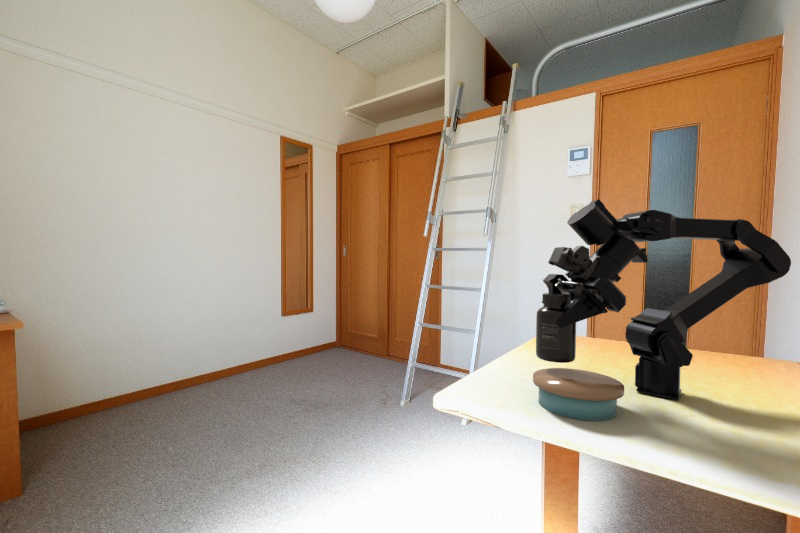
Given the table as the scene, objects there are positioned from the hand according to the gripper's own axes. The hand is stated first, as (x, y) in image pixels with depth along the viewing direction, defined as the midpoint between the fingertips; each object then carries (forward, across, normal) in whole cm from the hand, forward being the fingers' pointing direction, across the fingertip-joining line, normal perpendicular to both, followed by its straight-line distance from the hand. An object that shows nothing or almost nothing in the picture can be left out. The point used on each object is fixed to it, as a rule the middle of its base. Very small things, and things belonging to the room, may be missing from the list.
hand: (548, 322), depth 69 cm
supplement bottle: (+4, 0, +6) cm, 7 cm away
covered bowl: (+8, +6, +11) cm, 15 cm away
